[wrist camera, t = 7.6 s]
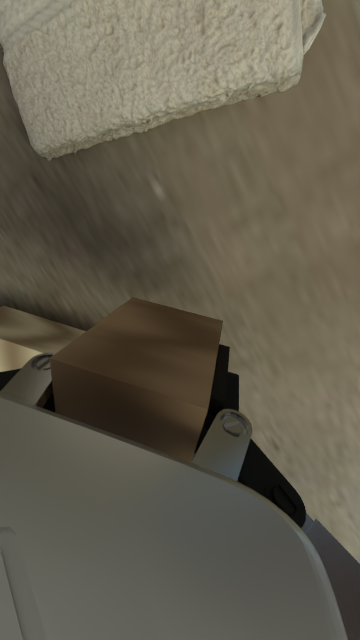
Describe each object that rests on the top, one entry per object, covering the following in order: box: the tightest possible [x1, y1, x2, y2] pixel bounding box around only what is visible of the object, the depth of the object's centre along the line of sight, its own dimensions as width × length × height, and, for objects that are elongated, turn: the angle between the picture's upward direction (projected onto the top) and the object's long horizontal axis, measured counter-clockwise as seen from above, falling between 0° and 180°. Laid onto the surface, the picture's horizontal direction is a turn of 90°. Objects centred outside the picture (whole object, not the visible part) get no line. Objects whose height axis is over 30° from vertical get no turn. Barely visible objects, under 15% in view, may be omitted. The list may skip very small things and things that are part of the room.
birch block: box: [0, 306, 86, 372], centre depth 25 cm, size 14×16×5 cm
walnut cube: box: [50, 298, 223, 462], centre depth 10 cm, size 5×5×6 cm
